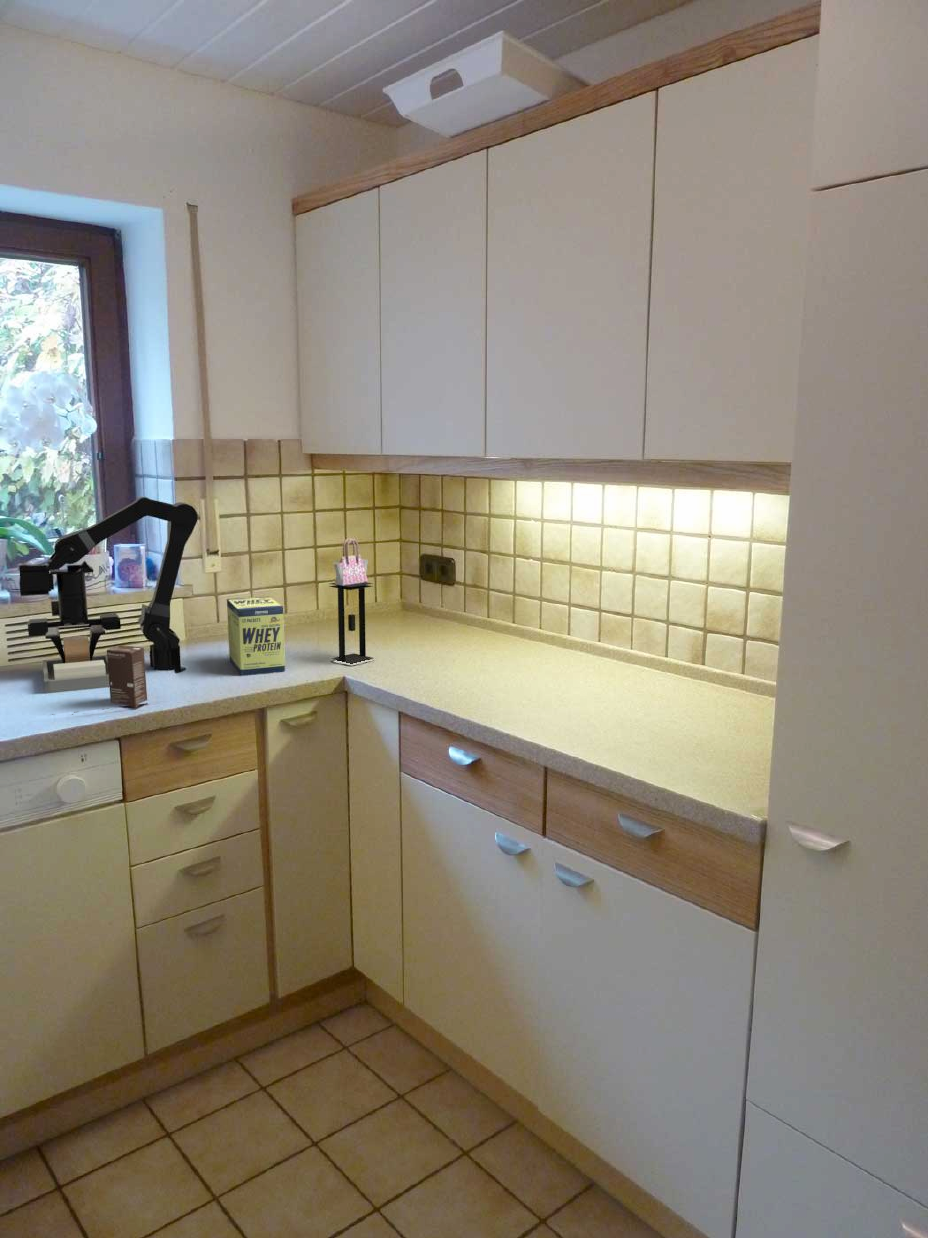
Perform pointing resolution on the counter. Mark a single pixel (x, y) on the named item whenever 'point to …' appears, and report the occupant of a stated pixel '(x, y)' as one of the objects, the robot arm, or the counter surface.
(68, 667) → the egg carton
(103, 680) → the tote
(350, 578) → the handbag
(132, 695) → the box
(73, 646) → the tea tin
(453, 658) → the counter surface
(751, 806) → the counter surface
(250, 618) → the protein box
